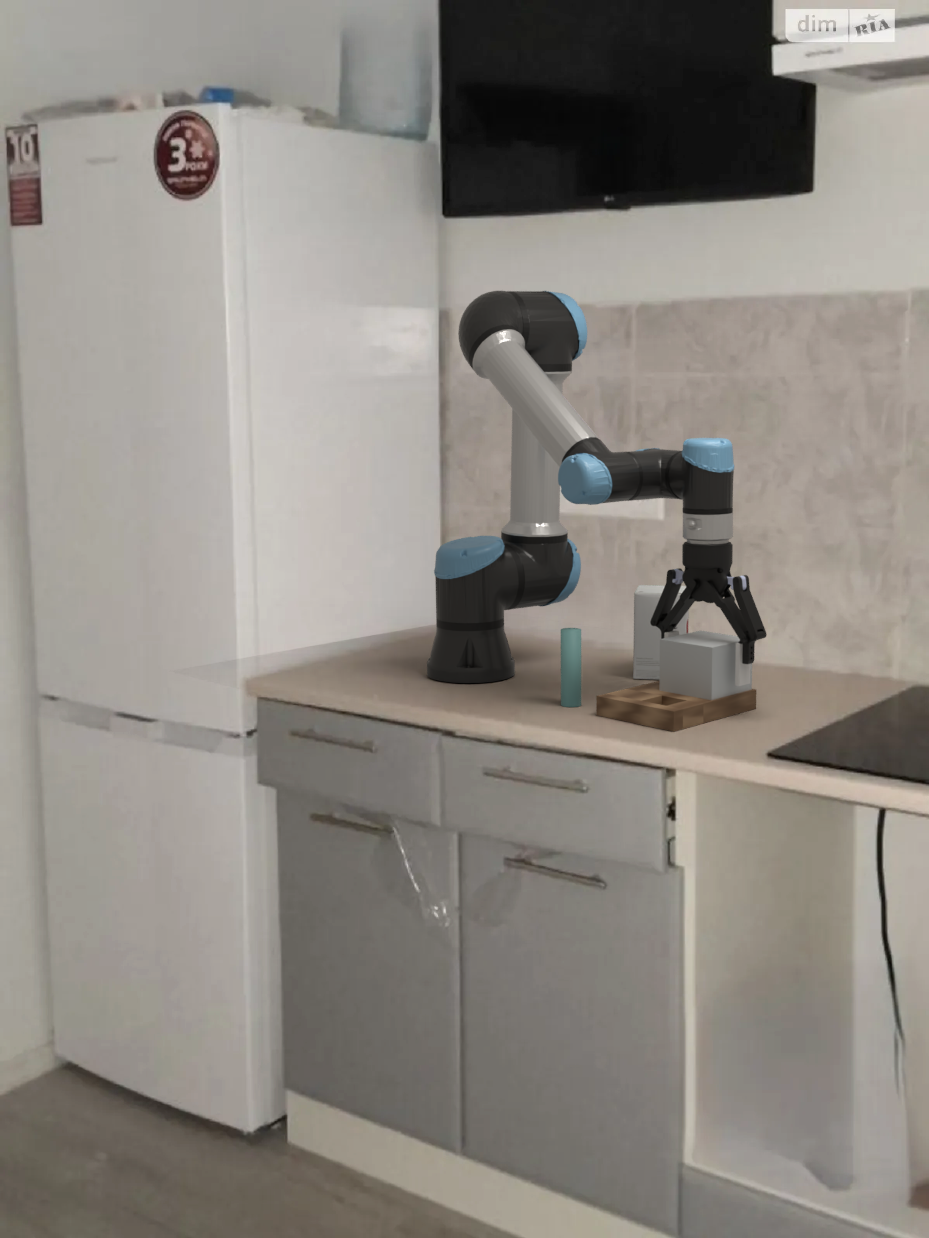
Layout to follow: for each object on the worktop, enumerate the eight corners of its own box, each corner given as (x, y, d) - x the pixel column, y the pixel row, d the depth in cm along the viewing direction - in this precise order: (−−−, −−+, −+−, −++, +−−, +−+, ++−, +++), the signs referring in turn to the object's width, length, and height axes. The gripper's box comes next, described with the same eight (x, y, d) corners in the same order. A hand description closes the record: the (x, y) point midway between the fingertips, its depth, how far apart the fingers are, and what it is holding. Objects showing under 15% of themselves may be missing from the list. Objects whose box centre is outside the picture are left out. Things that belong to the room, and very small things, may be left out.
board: (596, 715, 232) (596, 663, 230) (679, 693, 245) (679, 645, 244) (673, 731, 221) (674, 677, 219) (756, 708, 234) (757, 657, 233)
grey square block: (659, 690, 234) (659, 639, 233) (699, 680, 241) (700, 630, 240) (711, 700, 227) (712, 647, 226) (751, 689, 234) (752, 638, 232)
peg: (556, 705, 239) (556, 629, 237) (570, 701, 241) (570, 627, 239) (571, 708, 236) (571, 632, 234) (585, 704, 239) (585, 629, 237)
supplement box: (686, 681, 254) (687, 593, 252) (632, 680, 256) (632, 592, 254) (689, 670, 263) (690, 584, 261) (637, 669, 265) (637, 584, 262)
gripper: (628, 537, 237) (628, 671, 240) (760, 549, 219) (759, 693, 222) (659, 533, 242) (658, 664, 245) (791, 544, 224) (789, 685, 227)
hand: (706, 678), depth 234 cm, fingers open, 13 cm apart
